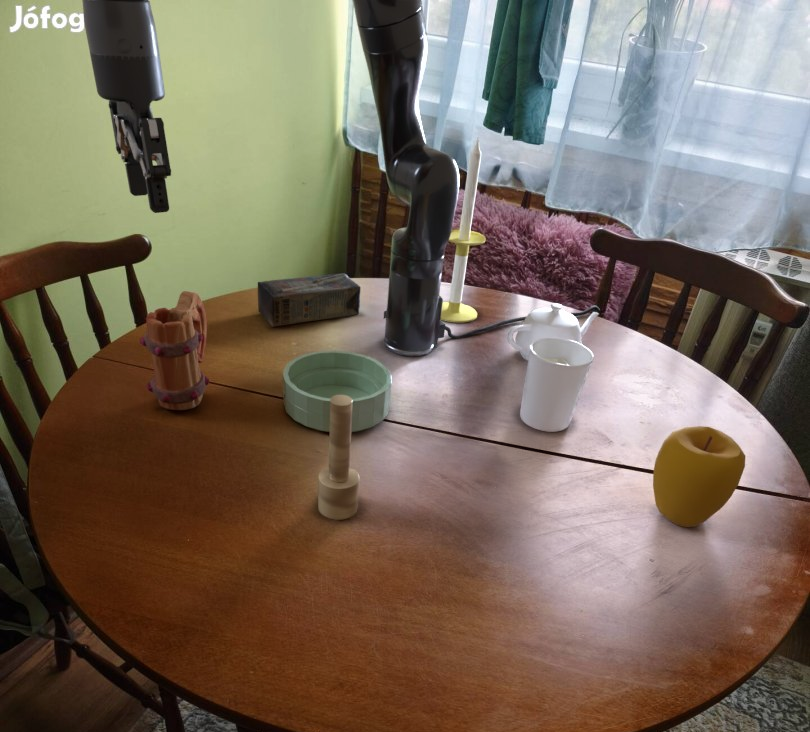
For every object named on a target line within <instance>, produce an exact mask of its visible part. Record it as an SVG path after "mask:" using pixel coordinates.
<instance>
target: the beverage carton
mask: <svg viewBox="0 0 810 732" xmlns="http://www.w3.org/2000/svg"><path fill="white" fill-rule="evenodd" d="M361 289H362V288H361V286H360V285H359V284H358V283H356V282H355V281H354V280H353V279H352V278H350V277H349V276H348V274H346V273H334V274H324V275H323V274H322V275H313V276H301V277H292V278H282V279H272V280H264V281H258V282H257V308H258V313H259V314H261V316H263V318H264V319H265V320H266V321H267V322H268V323H269V324H270V326H271V327H281V326H287V325H293V324H300V323H307V322H314V321H315V322H316V321H322V320H329V319H335V318H344V317H350V316H358V315H359V313H360V306H361V305H360V304H361Z"/></svg>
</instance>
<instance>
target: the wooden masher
mask: <svg viewBox="0 0 810 732" xmlns="http://www.w3.org/2000/svg"><path fill="white" fill-rule="evenodd" d="M352 402H353V401H352V399H351V398H350V397H349V396H346V395H335V396H333V397H332V398H331V399H330V432H329V439H328V440H329V442H328V443H329V445H328V466H326V467H323V468H322V469H321V470H320V471H319V473H318V476H317V477H318V478H317V480H318V481H317V482H318V483H317V509H318V511H319V513H320V514H321V515H322V516H324V517H325V518H327V519H331V520H337V521H338V520H340V521H342V520H347V519H349V518H352V517H354V516H355V515H356V513H357V511H358V508H359V491H360V490H359V489H360V488H359V487H360V475H359V473H358V472H357V470H355V469H354V468H352V467H350V466H351V445H352V432H351V424H352Z"/></svg>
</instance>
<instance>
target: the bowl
mask: <svg viewBox="0 0 810 732" xmlns="http://www.w3.org/2000/svg"><path fill="white" fill-rule="evenodd" d="M392 377H393V376H392V374H391V372H390V370H389V368H388V367H387V366H386V365H384V364H383V363H381V362H380V361H379V360H377V359H375V358H372V357H370V356H368V355H365V354H361V353H357V352H353V351H347V350H337V349H336V350H334V349H333V350H318V351H314V352H313V351H312V352H307V353H304V354H301V355H299V356H296V357H295V358H293V359H291V360H290V361H289V362H288V363H287V364H286V365H285V366H284V370H283V371H282V389H283V390H282V394H283V395H282V396H283V406H284V409H285V412H286V414H287V415H289V417H290V418H292V419H293V421H295V422H297V423H299V424H301V425H303V426H305V427H307V428H310V429H314V430H317V431H320V432H326V433H330V399H331V398H332V397H333V396H335V395H346V396H349V397H350V398H351V399H352V401H353V402H352V424H351V433H354V432H360V431H364V430H367V429H371V428H374V427H375V426H377V425H378V424H380V423H381V422H383V421H384V420H385V419H386V418H387V416H388V415H389V414H390V413H389V412H390V403H391V391H392Z"/></svg>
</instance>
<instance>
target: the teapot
mask: <svg viewBox="0 0 810 732" xmlns="http://www.w3.org/2000/svg"><path fill="white" fill-rule="evenodd" d="M570 313H571V312H568V311H566V310H563V305H562V304H560V303H557V302H553V303H551V304H550V307H538V308H534V309H533V310H531V311H530V312H529V313H528V315H526V316H527V317H526V316H525V317H526V318H525V320H524V321H522V323H521V324H520V325H519V324H518V325H515V326H512V327H510V328H509V329H508V331H507V334H506V340H507V342H508V343H509V345H510V346H511V347H512V349H514V350H515V351H518V352H519V353H520V355H521V357H522V358H523V359H524V361H527V362H528V359H529V353H530V345H531V343H532V342H534V341H535V340H537V339H541V338H548V337H554V338H563V339H568V340H572V341H575V342H577V343H580V344H582V338H583V337H584V336H585V334H586V333H587V332H588V330H589V328H590V327H591V325H592V323H593V321H594V320H595V319H596V318H597V317H598V316H599V315H600V313H599V312H598V311H592V313H591V314H590V315H589V316H588V317H587V319H586V320H585V321H584V323H583V324H582V326H580V323H579V320H578V318H577V316H574V315H572V314H570ZM515 333H516V334H515ZM514 334H515V339H514ZM582 345H583V344H582Z"/></svg>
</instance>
